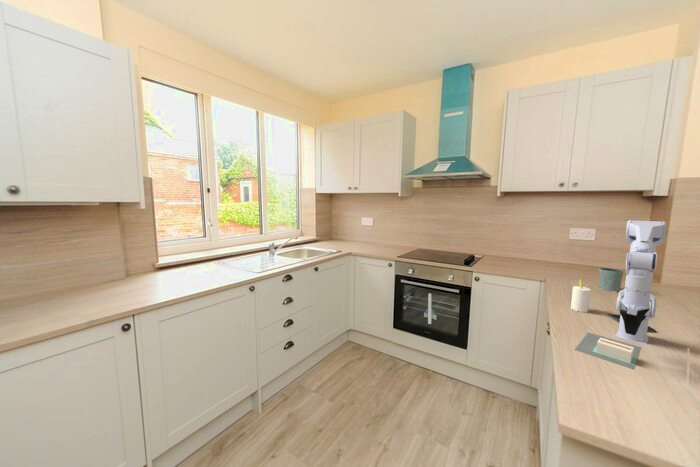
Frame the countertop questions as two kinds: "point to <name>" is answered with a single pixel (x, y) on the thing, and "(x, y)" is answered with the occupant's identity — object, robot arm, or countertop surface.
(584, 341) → the mat
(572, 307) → the candle
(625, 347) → the card box
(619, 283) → the green pot
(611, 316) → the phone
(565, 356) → the countertop surface
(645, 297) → the robot arm
